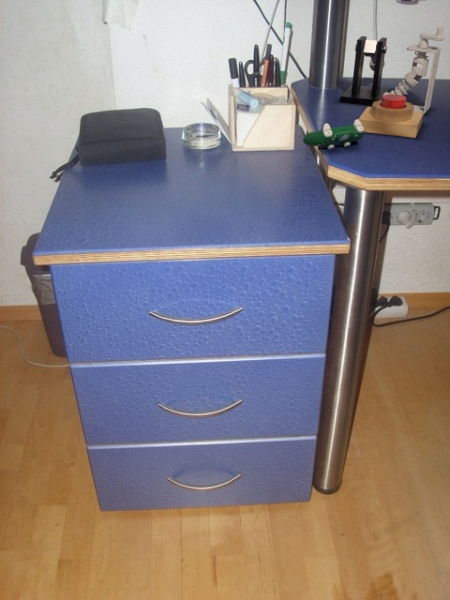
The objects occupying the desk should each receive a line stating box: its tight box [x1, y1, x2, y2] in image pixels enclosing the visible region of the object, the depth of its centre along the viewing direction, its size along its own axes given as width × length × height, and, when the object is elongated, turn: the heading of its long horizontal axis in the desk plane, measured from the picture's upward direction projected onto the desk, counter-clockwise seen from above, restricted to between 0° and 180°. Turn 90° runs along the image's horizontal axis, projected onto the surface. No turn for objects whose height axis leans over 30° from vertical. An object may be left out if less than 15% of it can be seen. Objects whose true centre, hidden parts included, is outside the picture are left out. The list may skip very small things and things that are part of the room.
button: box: [381, 94, 407, 109], centre depth 103 cm, size 4×4×2 cm
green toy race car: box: [302, 118, 365, 150], centre depth 96 cm, size 9×4×6 cm
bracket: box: [339, 35, 390, 106], centre depth 119 cm, size 10×8×11 cm
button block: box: [358, 100, 425, 139], centre depth 104 cm, size 10×8×4 cm
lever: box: [364, 39, 386, 72], centre depth 122 cm, size 14×3×3 cm, turn 158°
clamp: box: [383, 26, 445, 115], centre depth 111 cm, size 4×10×15 cm, turn 62°
